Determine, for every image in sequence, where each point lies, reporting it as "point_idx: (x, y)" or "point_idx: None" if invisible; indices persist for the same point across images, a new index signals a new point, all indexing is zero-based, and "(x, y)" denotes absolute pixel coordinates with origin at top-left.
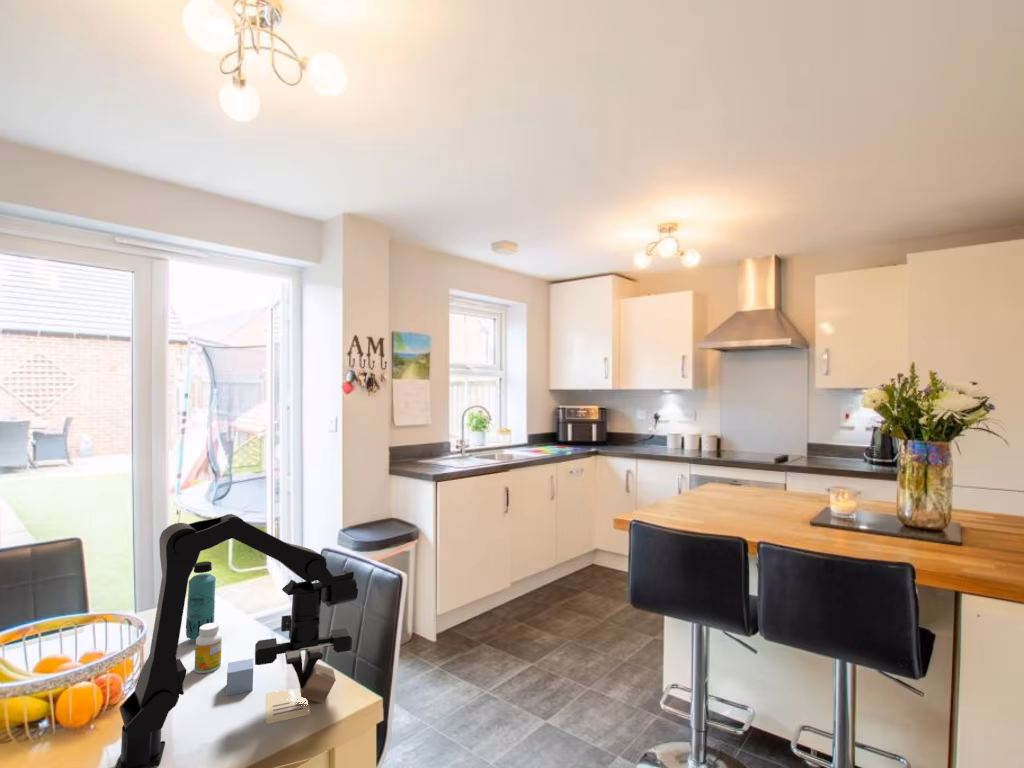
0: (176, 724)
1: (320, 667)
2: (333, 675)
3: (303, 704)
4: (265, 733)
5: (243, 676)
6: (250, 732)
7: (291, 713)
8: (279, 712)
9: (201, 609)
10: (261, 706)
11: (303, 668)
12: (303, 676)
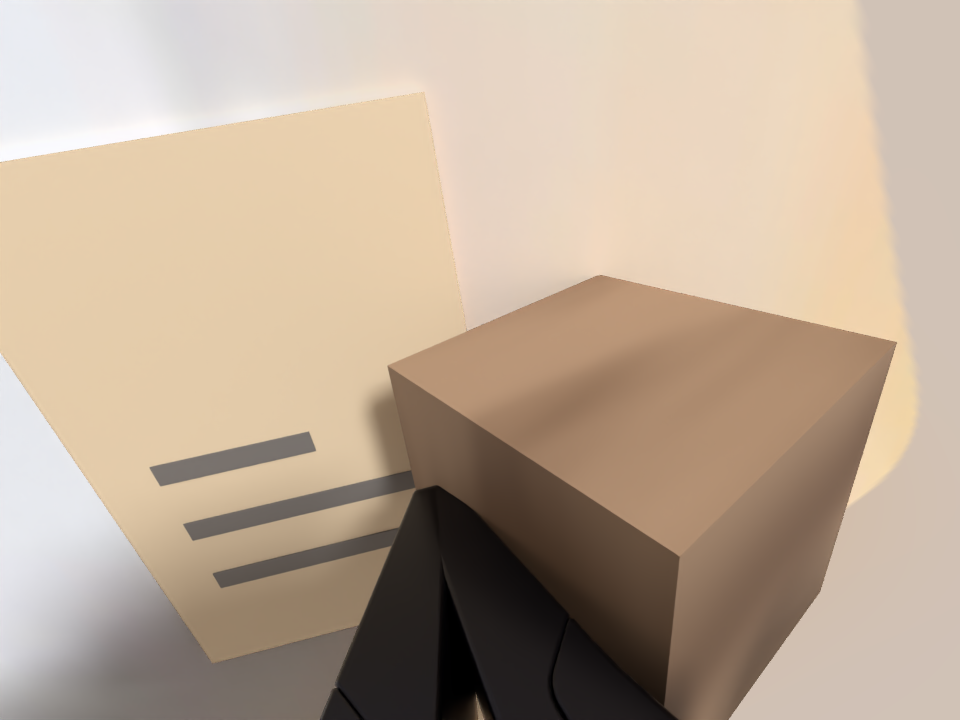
0: None
1: (765, 546)
2: (836, 527)
3: None
4: (243, 714)
5: None
6: (127, 710)
7: (369, 572)
8: (263, 556)
9: None
10: (17, 435)
11: (480, 684)
12: (481, 709)
